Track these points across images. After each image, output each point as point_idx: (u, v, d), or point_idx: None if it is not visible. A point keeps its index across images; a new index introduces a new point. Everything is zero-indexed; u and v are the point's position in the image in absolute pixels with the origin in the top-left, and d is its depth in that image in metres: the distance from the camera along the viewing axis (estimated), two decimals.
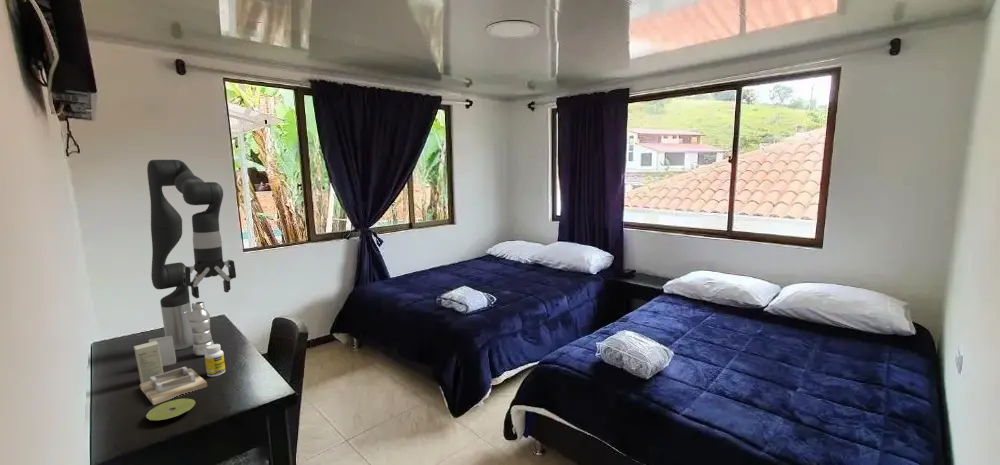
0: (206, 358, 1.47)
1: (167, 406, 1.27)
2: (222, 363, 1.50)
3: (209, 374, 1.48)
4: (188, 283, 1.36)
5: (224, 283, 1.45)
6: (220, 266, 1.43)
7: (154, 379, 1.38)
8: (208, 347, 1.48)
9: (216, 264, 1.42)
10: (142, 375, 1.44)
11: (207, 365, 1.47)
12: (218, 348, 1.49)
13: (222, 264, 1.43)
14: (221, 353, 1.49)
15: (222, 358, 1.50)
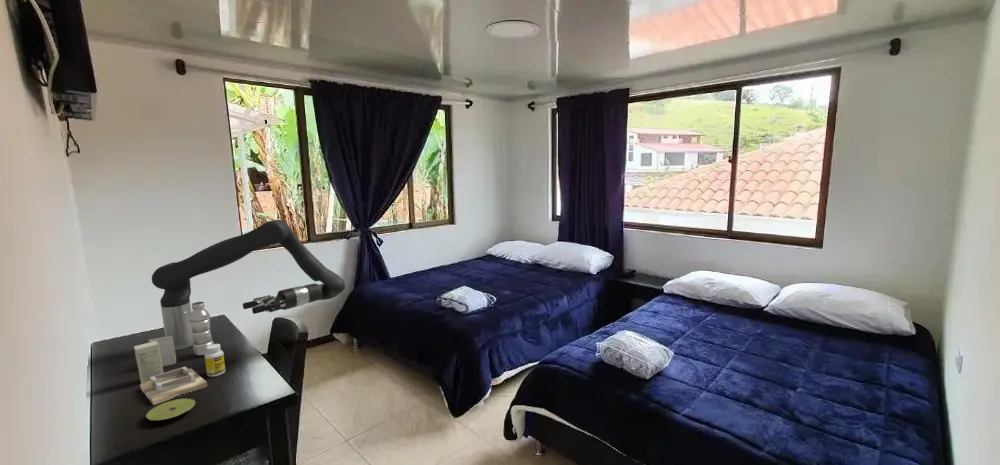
0: (206, 358, 1.47)
1: (167, 406, 1.27)
2: (222, 363, 1.50)
3: (209, 374, 1.48)
4: None
5: (252, 304, 1.61)
6: None
7: (154, 379, 1.38)
8: (208, 347, 1.48)
9: None
10: (142, 375, 1.44)
11: (207, 365, 1.47)
12: (218, 348, 1.49)
13: None
14: (221, 353, 1.49)
15: (222, 358, 1.50)
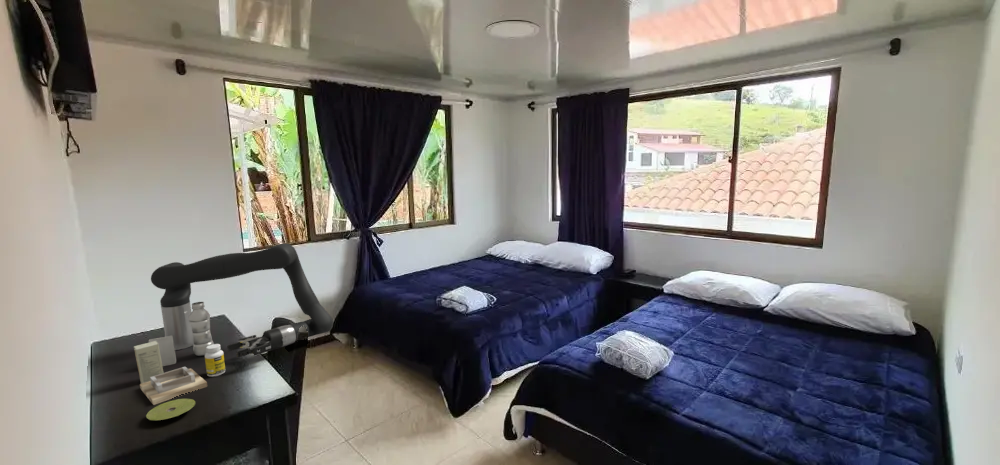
0: (206, 358, 1.47)
1: (167, 406, 1.27)
2: (222, 363, 1.50)
3: (209, 374, 1.48)
4: None
5: (236, 345, 1.58)
6: None
7: (154, 379, 1.38)
8: (208, 347, 1.48)
9: None
10: (142, 375, 1.44)
11: (207, 365, 1.47)
12: (218, 348, 1.49)
13: None
14: (221, 353, 1.49)
15: (222, 358, 1.50)
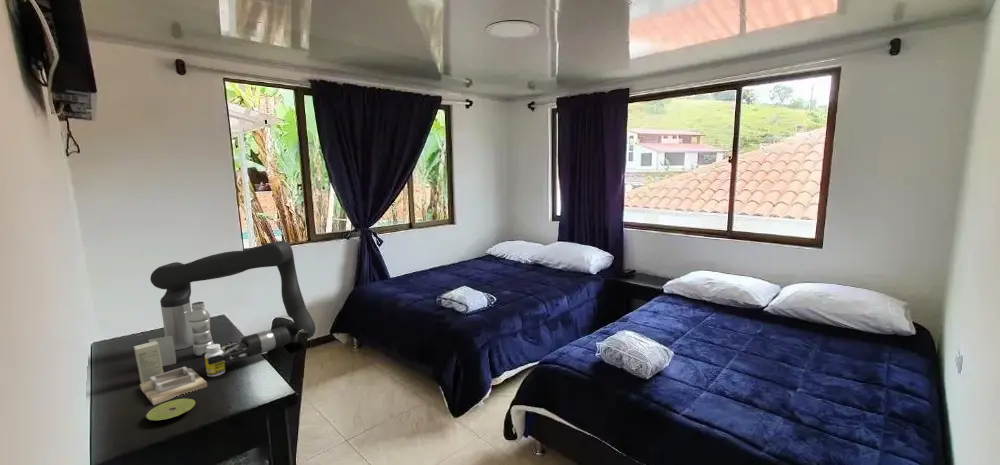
0: (206, 358, 1.47)
1: (167, 406, 1.27)
2: (222, 363, 1.50)
3: (209, 374, 1.48)
4: None
5: None
6: None
7: (154, 379, 1.38)
8: (208, 347, 1.48)
9: None
10: (142, 375, 1.44)
11: (207, 365, 1.47)
12: (218, 348, 1.49)
13: None
14: (221, 353, 1.49)
15: None
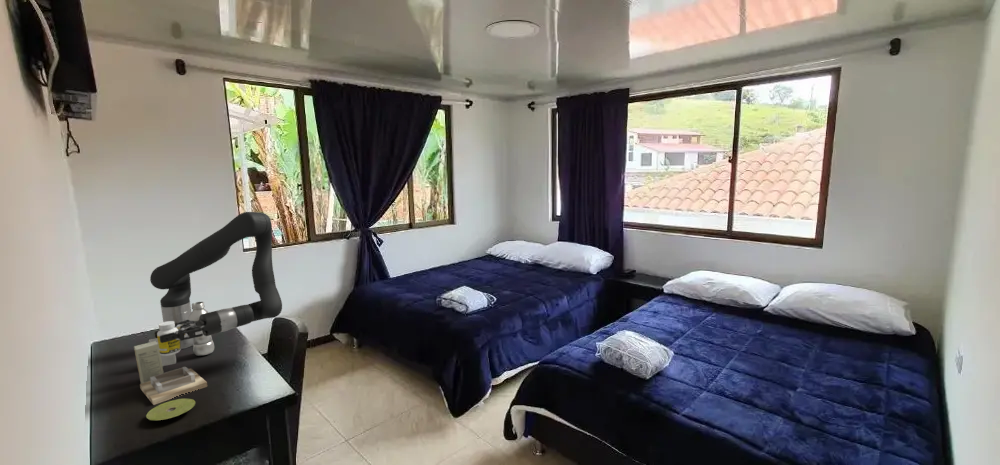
0: (158, 336, 1.36)
1: (167, 406, 1.27)
2: (177, 341, 1.39)
3: (162, 353, 1.37)
4: None
5: None
6: None
7: (154, 379, 1.38)
8: (161, 324, 1.37)
9: None
10: (142, 375, 1.44)
11: (160, 343, 1.37)
12: (172, 325, 1.38)
13: None
14: (175, 331, 1.39)
15: None
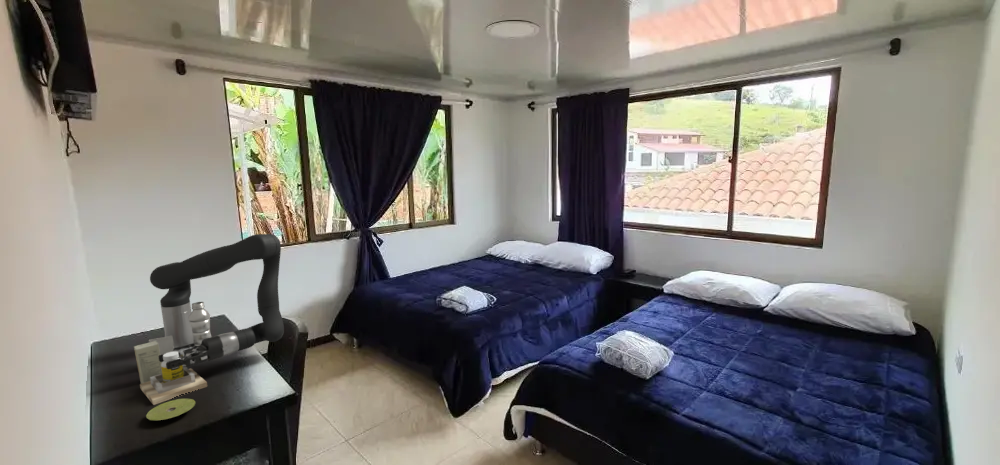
0: (162, 367, 1.38)
1: (167, 406, 1.27)
2: (180, 372, 1.40)
3: None
4: None
5: None
6: None
7: (154, 379, 1.38)
8: (165, 355, 1.39)
9: None
10: (142, 375, 1.44)
11: (164, 374, 1.38)
12: (176, 356, 1.39)
13: None
14: None
15: (180, 367, 1.40)
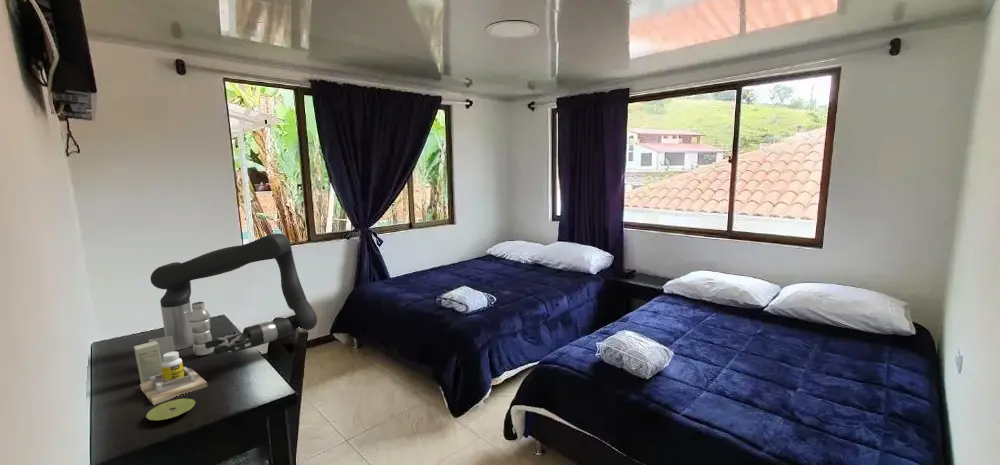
0: (162, 367, 1.38)
1: (167, 406, 1.27)
2: (180, 372, 1.40)
3: None
4: None
5: (215, 342, 1.53)
6: None
7: (154, 379, 1.38)
8: (165, 355, 1.39)
9: None
10: (142, 375, 1.44)
11: (164, 374, 1.38)
12: (176, 356, 1.39)
13: None
14: (179, 361, 1.40)
15: (180, 367, 1.40)
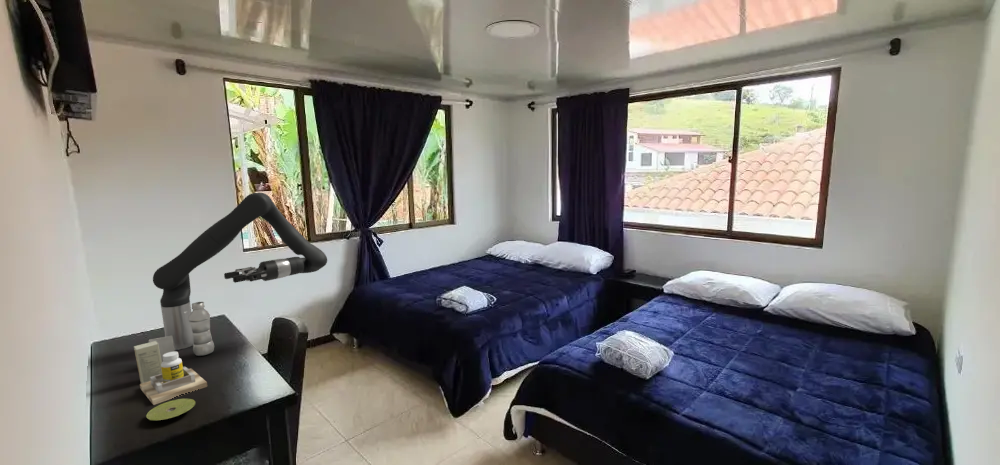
0: (162, 367, 1.38)
1: (167, 406, 1.27)
2: (180, 372, 1.40)
3: None
4: None
5: (233, 274, 1.64)
6: None
7: (154, 379, 1.38)
8: (164, 355, 1.39)
9: None
10: (142, 375, 1.44)
11: (164, 374, 1.38)
12: (175, 356, 1.39)
13: None
14: (179, 361, 1.40)
15: (180, 367, 1.40)
